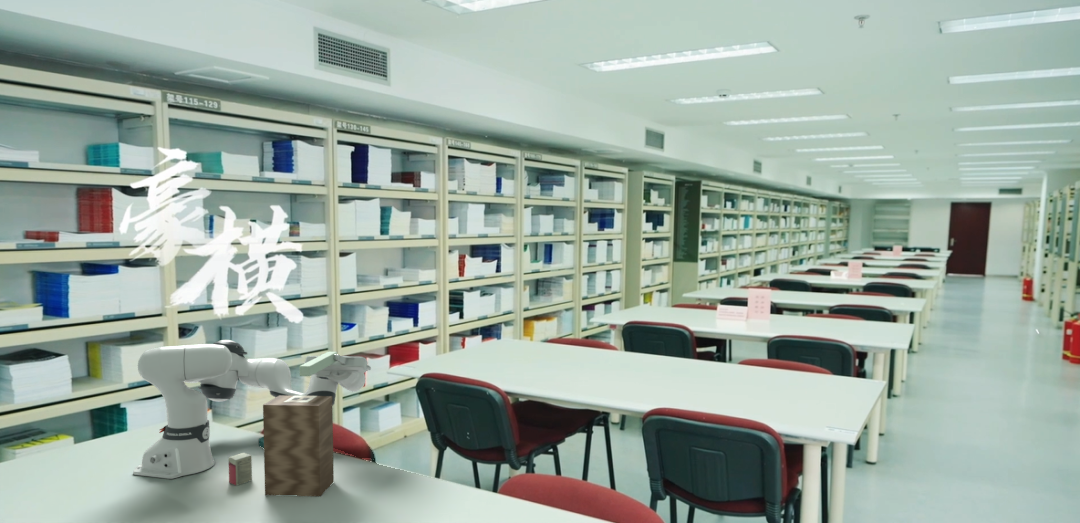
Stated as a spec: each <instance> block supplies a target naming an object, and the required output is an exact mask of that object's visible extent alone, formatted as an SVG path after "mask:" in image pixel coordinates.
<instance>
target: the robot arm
mask: <svg viewBox="0 0 1080 523" xmlns="http://www.w3.org/2000/svg"><path fill="white" fill-rule="evenodd" d="M323 354H324V353H323ZM323 354H322V353H321V354H320V355H307V356H306V357H305V360H304V364H305V363H307V362H309V361H311V360H313V359H315V358H317V357H319V356H321V355H323ZM245 355H246V356H247V355H248V352H247V351H245V349H244V348H243V346H242V345H241V344H240V343H238V342H236V341H234V340H231V339H221V340H219V341H218V340H217V341H215V342H212V343H204V344H203V343H199V344H198V343H197V344H185V345H183V344H181V345H168V346H165V345H163V346H159V347H155V348H150V349H147V350H145V351H144V352H143V353H142V354H141V355H140V357H139V359H138V362H137V371H138V374H139V375H140V377H141V378H142V379H143V380H144V381H146V382H148V383H150V384H151V385H152V386H154V387H155V388H156V389H157V390H158V391H159V393H160V394H161V395H162V397H163V399H164V403H165V407H166V408H165V409H166V413H167V414H166V415H167V416H166V417H167V424H166V425H164V426H163V427H161V428H160V429H159V434H161V433H162V437H160V438H159V439H158V440H157V441H155V442H154V443H153V444H152V445H151V446H149V447H148V448H147V449H145V451H144V452H143V455H142V460H141V463H140V464H138V465H137V466H136V467H134V469H133V472H132V474H133V475H135V476H142V477H144V476H145V477H152V478H160V479H168V480H170V479H177V478H179V477H182V476H188V475H193V474H197V473H201V472H204V471H206V470H208V469H210V468H212V467H213V466H215V463H216V461H215V460H214V457H213V454H212V450H211V449H212V448H211V446H210V445H211V444H210V435H211V434H210V433H211V430H210V427H211V426H210V420H209V419H208V400H210V401H213V402H219V403H221V402H225V401H228V400H231V399H233V398H234V396H235V394H236V391H237V389H236V387H237V384H238V382H240V383H241V384H243V385H245V386H249V387H253V388H261V389H268V390H269V394H270V395H271V396H272V397H274V398H276V397H278V396H279V395H281V396H332V407H333V406H334V405H335V402H336V401H335V400H336V395H337V390H338V387H339V386H338V385H340V386H341V387H342V388H344V389H345V390H346V391H349V392H352V393H353V392H358V391H360V390H361V389H362V388H363V387H364V385H365V384H366V372H368V371H371V369H372V367H371V365H369V364H368V363H369V362H368V360H367V359H366V357H363V356H347V355H340V354H337V355H334V358H333V359H334V361H336V362H334V363H333V364H331V365H329V366H327V367H325V368H324V369H322V370H320V371H318V372H317V373H315V374H313V375H311V376H310V380H309V382H308V387H307V390H306V391H305V392H300V391H296V390H293V387H292V373H291V372H292V371H291V369H290V367H289V365H288V364H287V362H286V361H285V360H283V359H281V358H276V357H259V358H258V357H257V358H247V357H245ZM186 383H188V384H197V383H199V384H200V386H198V388H197V389H198V390H197V389H193V388H190V387H189V386H188V385H187V384H186ZM199 390H201V391H199Z"/></svg>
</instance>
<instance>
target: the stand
mask: <svg viewBox="0 0 1080 523" xmlns="http://www.w3.org/2000/svg"><path fill="white" fill-rule="evenodd" d="M333 413H334V412H333V406H332V396H281V395H279V396H278V397H274V398H272V399H271V400H269V401H267V402H266V403H264V404H263V405H262V415H263V418H262V419H263V426H262V427H263V437H264V449H263V458H264V459H263V462H264V463H263V464H264V466H263V467H264V468H263V469H264V495H265V496H276V495H297V496H296V497H319V496H320V497H322V496H323V495H324V494H325V493H326V491H327V490H328V489H329V488H330V487H331V486H332V485H333V484H334V483H333V482H335V480H334V478H335V477H334V471H335V470H334V432H333V431H334V430H333V429H334V426H333V423H334V421H333V419H334V418H333V417H334V416H333ZM332 483H333V484H332ZM331 484H332V485H331ZM330 485H331V486H330Z"/></svg>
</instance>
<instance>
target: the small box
mask: <svg viewBox="0 0 1080 523" xmlns="http://www.w3.org/2000/svg"><path fill="white" fill-rule="evenodd" d="M252 460H253V459H252V455H251V454H249V453H246V452H241V453H237V454H235V455H231V456H228V461H227V462H228V482H229V484H232V485H234V486H237V487H238V486H240V485H243V484H245V483H249V482H251V481H253V472H252V471H253V469H252V468H253V467H252V466H253V463H252ZM248 481H249V482H248Z"/></svg>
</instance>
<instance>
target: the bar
mask: <svg viewBox="0 0 1080 523" xmlns="http://www.w3.org/2000/svg"><path fill="white" fill-rule="evenodd" d="M320 355H321V354H320ZM320 355H318V356H319V357H317V358H315V359H313V360H311V361H309V362H307V363H305V362H304V363H303V364H301V365H299V377H311V375H313V374H315V373H317V372H318V371H320V370H322V369H324V368H325V367H327V366H329V365H331V364H333V363H334V362H336V361H334V359H333V358H334V355H338V351H326V352H325V353H323V355H321V356H320Z"/></svg>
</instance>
